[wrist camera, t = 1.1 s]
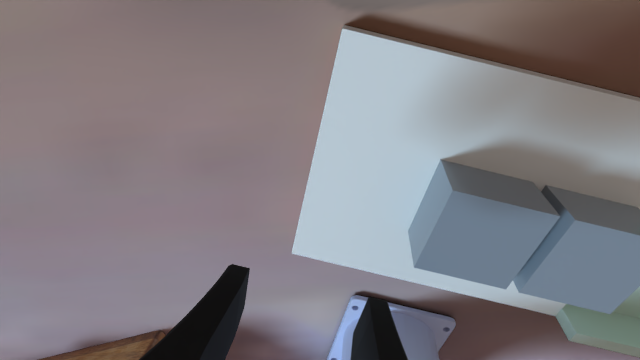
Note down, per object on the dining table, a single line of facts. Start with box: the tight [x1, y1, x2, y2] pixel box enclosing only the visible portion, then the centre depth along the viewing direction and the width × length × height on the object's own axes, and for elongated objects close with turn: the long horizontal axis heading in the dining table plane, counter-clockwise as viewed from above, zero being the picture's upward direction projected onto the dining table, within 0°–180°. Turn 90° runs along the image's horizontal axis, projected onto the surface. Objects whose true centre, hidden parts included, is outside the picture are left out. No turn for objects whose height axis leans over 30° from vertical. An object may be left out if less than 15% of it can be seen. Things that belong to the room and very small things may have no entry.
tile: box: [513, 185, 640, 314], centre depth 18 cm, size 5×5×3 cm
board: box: [292, 25, 640, 316], centre depth 20 cm, size 14×18×1 cm
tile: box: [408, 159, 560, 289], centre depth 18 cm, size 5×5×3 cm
